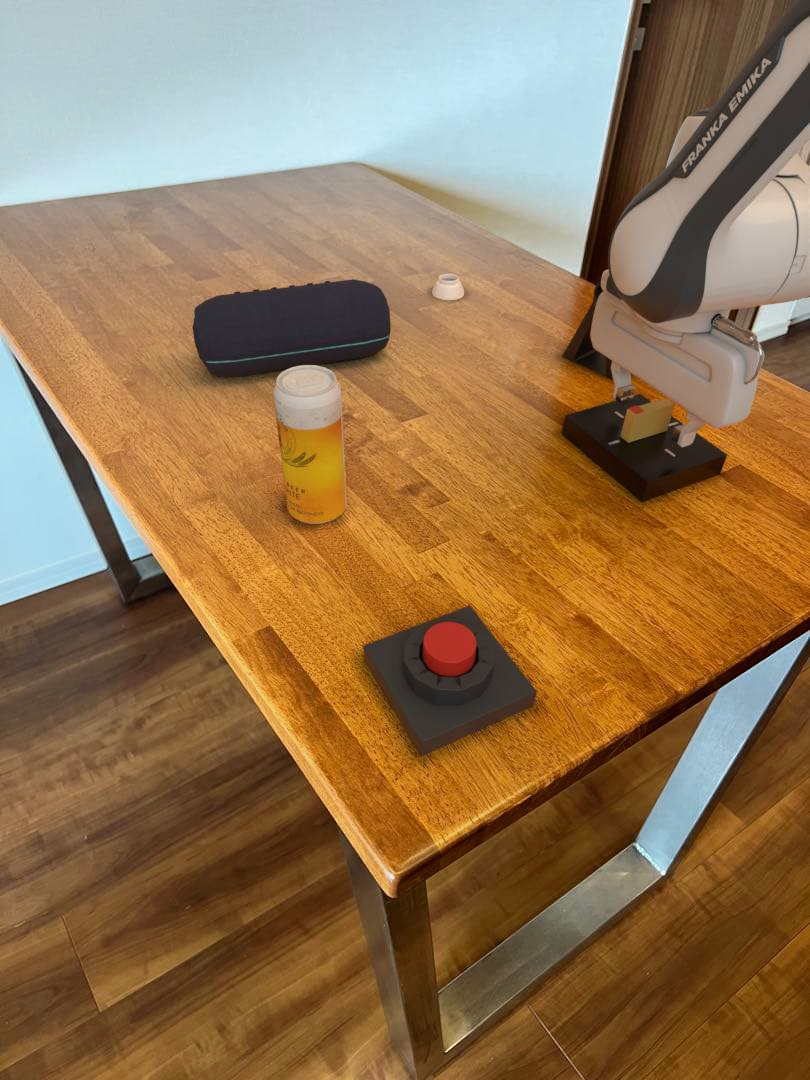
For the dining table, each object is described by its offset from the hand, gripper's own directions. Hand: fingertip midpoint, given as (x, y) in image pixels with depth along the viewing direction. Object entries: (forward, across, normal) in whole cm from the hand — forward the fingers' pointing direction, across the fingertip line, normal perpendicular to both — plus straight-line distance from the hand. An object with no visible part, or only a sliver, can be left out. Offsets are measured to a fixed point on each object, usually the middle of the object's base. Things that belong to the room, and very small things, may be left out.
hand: (650, 420), depth 79 cm
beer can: (+5, +7, +36) cm, 37 cm away
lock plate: (+5, 0, 0) cm, 5 cm away
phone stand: (+5, +19, -10) cm, 22 cm away
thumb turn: (+2, 0, 0) cm, 2 cm away
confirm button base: (+5, -18, +35) cm, 40 cm away
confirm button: (+2, -18, +35) cm, 39 cm away
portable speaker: (+5, +37, +27) cm, 46 cm away
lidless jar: (+4, +47, -2) cm, 48 cm away
